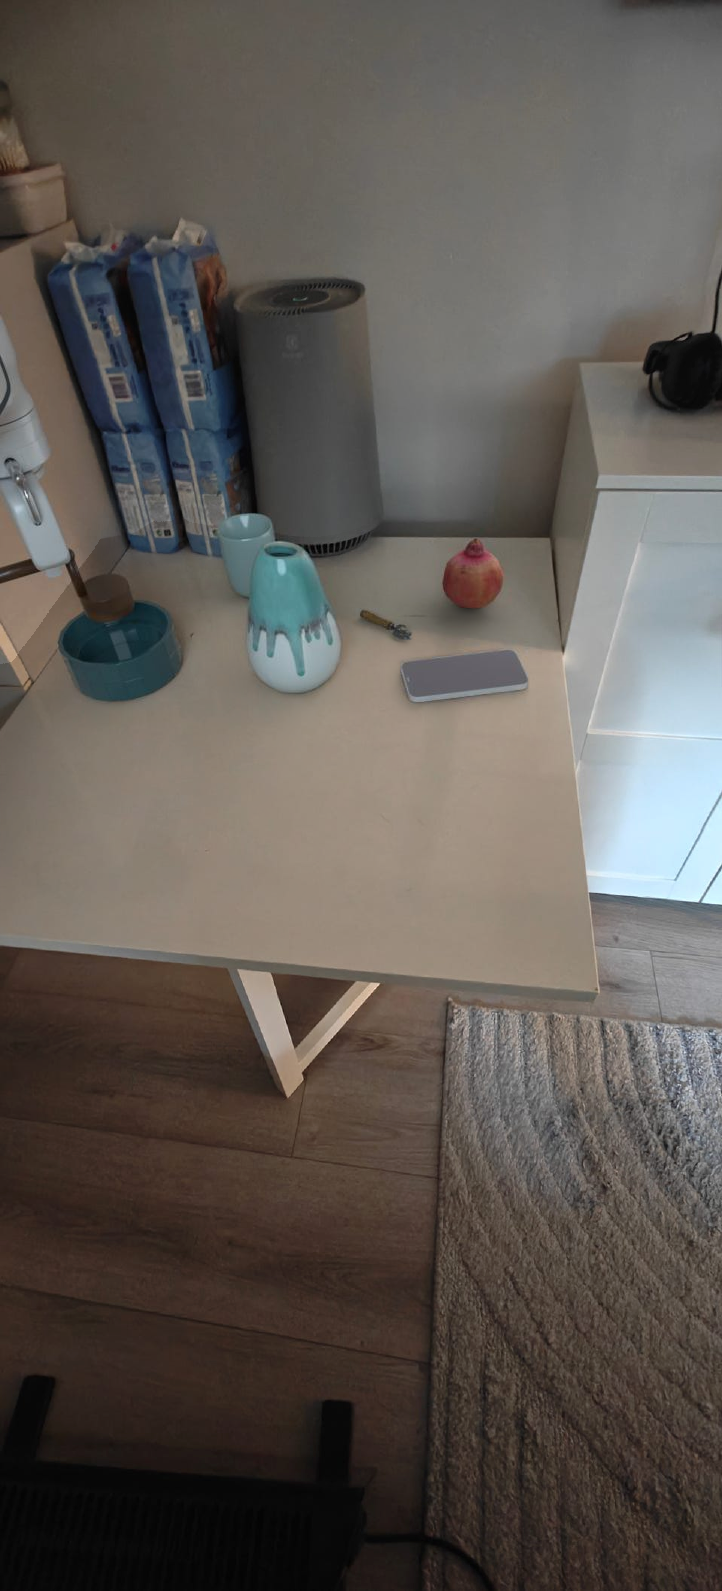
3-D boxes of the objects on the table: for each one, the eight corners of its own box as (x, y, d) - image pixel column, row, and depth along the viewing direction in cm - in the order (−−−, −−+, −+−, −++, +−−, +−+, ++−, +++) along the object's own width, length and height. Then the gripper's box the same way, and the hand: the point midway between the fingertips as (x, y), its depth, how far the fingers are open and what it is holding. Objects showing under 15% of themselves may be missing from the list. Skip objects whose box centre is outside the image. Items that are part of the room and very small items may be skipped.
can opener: (359, 618, 101) (359, 611, 100) (371, 611, 102) (371, 604, 101) (406, 644, 97) (406, 637, 96) (418, 637, 98) (418, 629, 97)
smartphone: (531, 683, 89) (409, 698, 88) (530, 689, 89) (409, 704, 88) (514, 647, 94) (399, 661, 93) (513, 653, 94) (399, 667, 93)
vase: (331, 641, 98) (319, 514, 85) (353, 694, 90) (343, 563, 77) (246, 658, 97) (220, 531, 83) (261, 714, 89) (235, 583, 76)
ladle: (126, 589, 92) (104, 524, 86) (141, 612, 89) (119, 546, 82) (-26, 638, 87) (-62, 572, 80) (-17, 665, 83) (-54, 598, 77)
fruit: (431, 600, 104) (432, 534, 96) (480, 585, 106) (485, 519, 98) (460, 629, 98) (463, 562, 91) (511, 612, 100) (518, 545, 93)
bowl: (131, 717, 90) (117, 678, 85) (51, 683, 95) (33, 645, 91) (204, 654, 98) (194, 616, 93) (126, 627, 103) (113, 589, 99)
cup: (279, 604, 105) (269, 539, 98) (226, 605, 105) (212, 541, 98) (284, 575, 110) (275, 511, 103) (233, 577, 111) (221, 513, 103)
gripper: (55, 472, 67) (103, 602, 78) (12, 405, 80) (58, 524, 90) (-14, 490, 66) (44, 621, 76) (-47, 419, 78) (6, 539, 88)
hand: (51, 568), depth 83 cm, fingers closed on ladle
